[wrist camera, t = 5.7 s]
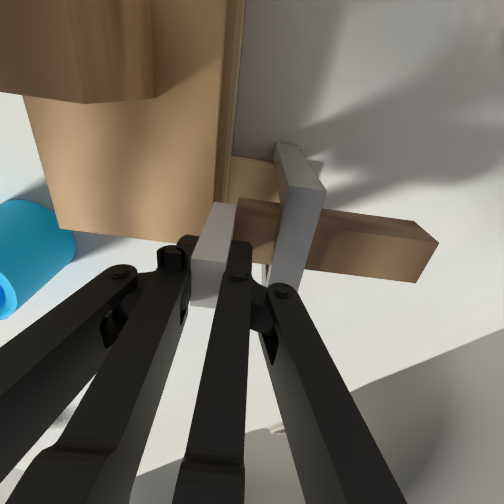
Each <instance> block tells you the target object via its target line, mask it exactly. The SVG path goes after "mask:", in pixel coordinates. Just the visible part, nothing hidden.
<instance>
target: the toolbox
mask: <svg viewBox="0 0 504 504" xmlns="http://www.w3.org/2000/svg"><path fill="white" fill-rule="evenodd" d="M245 3H246V0H227V8H226V25H225V41H224V58H223V74H222V91H221V107H220V123H219V140H218V156H217V173H216V189H215V202H219V203H227V204H234V205H237V203H238V198H239V197H241V198H248V199H255V200H263V201H270V202H277V203H280V201H279V195H278V189H277V183H276V177H275V171H274V165H273V161H266V160H259V159H252V158H245V157H238V156H232V150H233V139H234V128H235V116H236V105H237V94H238V82H239V71H240V60H241V49H242V37H243V26H244V15H245Z"/></svg>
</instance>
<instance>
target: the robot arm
mask: <svg viewBox="0 0 504 504" xmlns="http://www.w3.org/2000/svg"><path fill="white" fill-rule="evenodd" d="M236 208H237V205H234V204H227V203H219V202H214V203H213V206H212V208H211V211H210V213H209V215H208V218H207V220H206V223H205V225H204V228H203V230H202V232H201V235H200V236H195V235H187V234H186V235H184V236H183V237H181V238H180V239H179V240H178V242H177V245H168V246H164V247H162V248H160V249H158V250H157V264H158V268H157V269H156V271H153V272H147V273H137V269H136V268H135V267H133V266H131V265H126V264H120V265H115V266H111V267H109V268H108V269H106V270H105V271H103V272H102V273H100V274H99V275H98V276H96V277H95V278H94V279H92V280H91V281H90V282H88V283H87V284H86V285H84V286H83V287H82V288H80V289H79V290H77V291H76V292H75V293H73V294H72V295H71V296H69V297H68V298H67V299H65V300H64V301H63V302H61V303H60V304H59V305H57V306H56V307H54V308H53V309H52V310H50V311H49V312H48V313H46V314H45V315H44V316H42V317H41V318H40V319H38V320H37V321H36V322H34V323H33V324H32V325H30V326H29V327H27V328H26V329H25V330H23V331H22V332H21V333H19V334H18V335H17V336H15V337H14V338H13V339H11V340H10V341H9V342H7V343H6V344H4V345H3V346H2V347H0V483H1V482H2V481H3V480H4V478H5V477H6V476H7V475H8V474H9V473H10V471H11V470H12V469H13V468H14V467H15V466H16V465H17V463H18V462H19V461H20V460H21V459H22V458H23V457H24V455H25V454H26V453H27V452H28V451H29V450H30V449H31V447H32V446H33V445H34V444H35V443H36V442H37V441H38V439H39V438H40V437H41V436H42V435H43V434H44V433H45V431H46V430H47V429H48V428H49V427H50V426H51V425H52V423H53V422H54V421H55V420H56V419H57V418H58V416H59V415H60V414H61V413H62V412H63V411H64V410H65V408H66V407H67V406H68V405H69V404H70V403H71V402H72V400H73V399H74V398H75V397H76V396H77V395H78V394H79V392H80V391H81V390H82V389H83V388H84V387H85V386H86V384H87V383H88V382H89V381H90V380H91V379H92V378H93V376H94V375H95V374H96V373H97V374H96V375H95V377H94V379H93V381H92V382H91V384H90V386H89V388H88V389H87V391H86V393H85V395H84V396H83V398H82V400H81V402H80V403H79V405H78V407H77V408H76V410H75V412H74V414H73V415H72V417H71V419H70V421H69V422H68V424H67V426H66V428H65V429H64V431H63V433H62V435H61V436H60V438H59V439H58V441H57V442H56V443H55V444H54V445H53V446H50V447H48V448H46V449H44V450H42V451H41V452H40V453H39V454H38V455H37V456H36V457H35V458H34V459H33V461H32V462H31V463H30V465H29V466H28V468H27V469H26V471H25V472H24V474H23V476H22V477H21V479H20V480H19V482H18V484H17V485H16V487H15V489H14V490H13V492H12V493H11V495H10V497H9V498H8V500H7V502H6V503H5V504H129V499H130V494H131V490H132V486H133V483H134V480H135V477H136V474H137V471H138V468H139V464H140V461H141V458H142V455H143V452H144V449H145V446H146V443H147V439H148V436H149V433H150V430H151V427H152V424H153V421H154V418H155V415H156V411H157V408H158V405H159V402H160V399H161V396H162V393H163V390H164V387H165V383H166V380H167V377H168V374H169V371H170V368H171V365H172V362H173V359H174V355H175V352H176V349H177V346H178V343H179V340H180V337H181V334H182V331H183V327H184V324H185V321H186V318H187V315H188V304H189V301H190V306H197V307H205V308H214V309H215V314H214V318H213V323H212V328H211V333H210V337H209V342H208V347H207V352H206V357H205V361H204V366H203V371H202V376H201V380H200V385H199V390H198V395H197V400H196V404H195V409H194V414H193V419H192V423H191V428H190V433H189V438H188V443H187V447H186V452H185V455H184V458H183V460H182V463H181V466H180V470H179V474H178V478H177V482H176V487H175V492H174V496H173V501H172V504H244V491H245V467H244V436H245V417H246V396H247V376H248V355H249V335H250V329H252V330H254V331H257V332H258V336H259V339H260V343H261V346H262V350H263V354H264V357H265V361H266V364H267V368H268V371H269V375H270V378H271V382H272V385H273V389H274V392H275V396H276V399H277V403H278V407H279V410H280V414H281V417H282V421H283V424H284V428H285V431H286V434H287V438H288V442H289V445H290V449H291V452H292V456H293V459H294V463H295V467H296V470H297V474H298V477H299V481H300V484H301V488H302V491H303V495H304V498H305V502H306V504H407V502H406V500H405V498H404V496H403V494H402V492H401V490H400V488H399V487H398V485H397V483H396V481H395V479H394V477H393V475H392V473H391V471H390V469H389V468H388V466H387V464H386V462H385V460H384V458H383V456H382V454H381V452H380V450H379V448H378V447H377V445H376V443H375V441H374V439H373V437H372V435H371V433H370V431H369V429H368V427H367V425H366V423H365V421H364V419H363V418H362V416H361V414H360V412H359V410H358V408H357V406H356V404H355V402H354V400H353V399H352V396H351V395H350V393H349V391H348V389H347V387H346V385H345V383H344V381H343V379H342V377H341V375H340V373H339V371H338V369H337V368H336V366H335V364H334V362H333V360H332V358H331V356H330V354H329V352H328V350H327V348H326V346H325V345H324V343H323V341H322V339H321V337H320V335H319V333H318V331H317V329H316V327H315V325H314V323H313V321H312V320H311V318H310V316H309V314H308V312H307V310H306V308H305V306H304V304H303V302H302V300H301V298H300V297H299V295H298V293H297V291H296V290H295V289H294V288H293V287H292V286H290V285H288V284H285V283H279V282H277V283H273V284H271V285H269V287H265V286H263V285H260V284H258V283H257V282H256V281H255V280H254V279H253V278H252V274H251V271H252V251H253V247H252V245H251V244H250V242H246V241H239V240H233V230H234V221H235V213H236Z"/></svg>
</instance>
